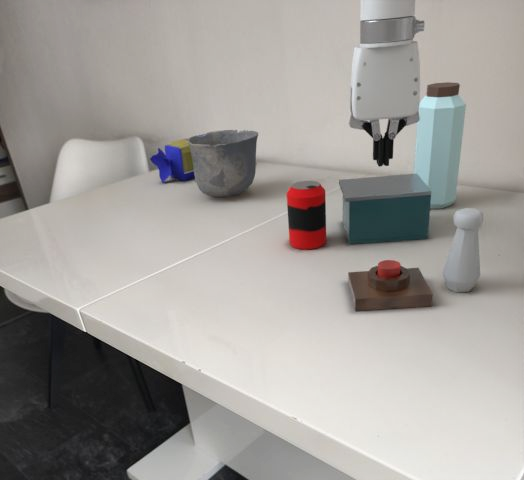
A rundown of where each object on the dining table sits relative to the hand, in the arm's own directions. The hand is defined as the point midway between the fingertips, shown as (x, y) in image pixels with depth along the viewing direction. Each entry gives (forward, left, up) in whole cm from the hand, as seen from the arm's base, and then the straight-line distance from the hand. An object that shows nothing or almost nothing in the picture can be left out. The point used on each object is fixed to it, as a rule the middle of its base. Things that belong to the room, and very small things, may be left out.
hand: (382, 163), depth 87 cm
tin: (-4, -20, -19) cm, 28 cm away
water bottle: (-18, -35, -19) cm, 43 cm away
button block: (0, +9, -19) cm, 21 cm away
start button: (0, +9, -15) cm, 18 cm away
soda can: (+12, -16, -19) cm, 27 cm away
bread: (+43, -79, -19) cm, 92 cm away
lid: (-4, -20, -10) cm, 22 cm away
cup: (+31, -54, -19) cm, 65 cm away
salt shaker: (-12, +8, -19) cm, 24 cm away
